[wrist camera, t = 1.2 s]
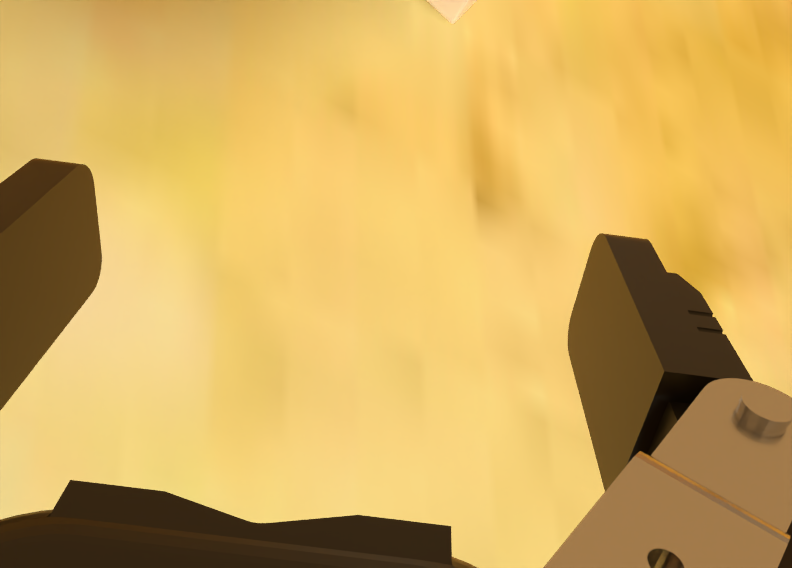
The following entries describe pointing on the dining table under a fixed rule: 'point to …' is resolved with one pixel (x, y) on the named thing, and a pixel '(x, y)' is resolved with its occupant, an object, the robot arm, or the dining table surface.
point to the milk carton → (451, 8)
